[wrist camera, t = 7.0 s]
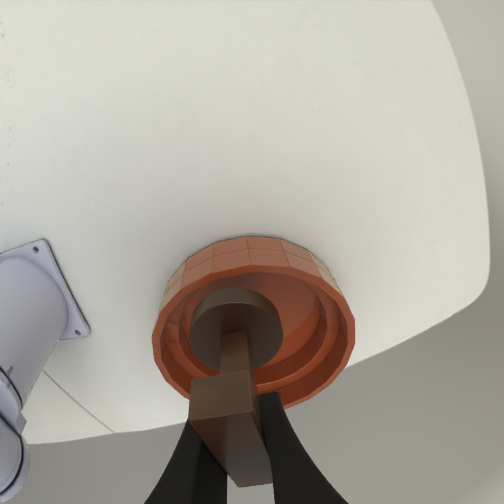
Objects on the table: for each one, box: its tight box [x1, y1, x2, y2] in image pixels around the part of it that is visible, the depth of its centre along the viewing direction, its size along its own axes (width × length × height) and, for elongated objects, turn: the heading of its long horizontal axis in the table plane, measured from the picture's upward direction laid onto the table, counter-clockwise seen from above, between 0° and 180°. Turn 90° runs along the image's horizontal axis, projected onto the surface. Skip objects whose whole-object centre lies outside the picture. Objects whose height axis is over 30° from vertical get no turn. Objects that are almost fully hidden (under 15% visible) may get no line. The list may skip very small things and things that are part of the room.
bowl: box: [152, 236, 355, 409], centre depth 19 cm, size 12×12×4 cm
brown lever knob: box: [188, 288, 283, 487], centre depth 12 cm, size 4×6×7 cm
